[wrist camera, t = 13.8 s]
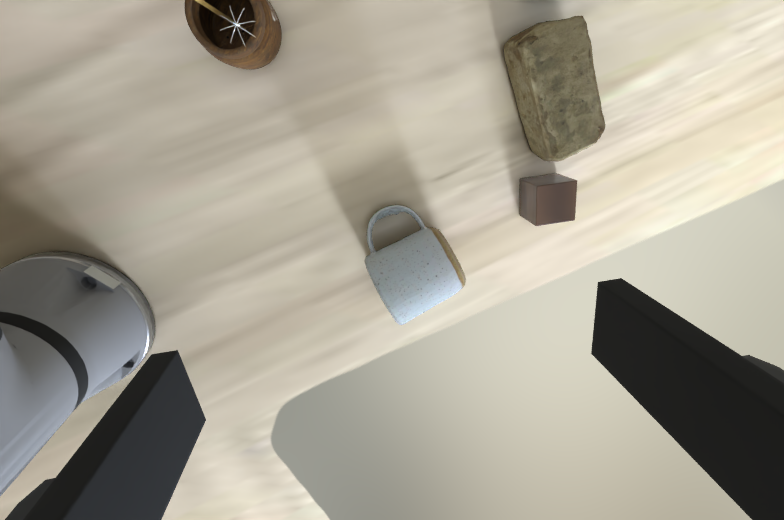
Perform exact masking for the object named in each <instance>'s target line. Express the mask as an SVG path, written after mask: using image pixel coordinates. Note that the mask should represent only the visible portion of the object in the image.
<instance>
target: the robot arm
mask: <svg viewBox="0 0 784 520" xmlns="http://www.w3.org/2000/svg"><path fill="white" fill-rule="evenodd" d="M154 335H155V323H154V317H153V313H152V311H151V308H150V306H149V304H148V302H147V300H146V298H145V297H144V295H143V294H142V293H141V291H140V290H139V289H138V288H137V287H136V285H135V284H134V283H133V282H132V281H131V280H129V279H128V278H127V277H126V276H125V275H123V274H122V273H121V272H119V271H118V270H116V269H115V268H113V267H111V266H109V265H107V264H105V263H103V262H101V261H99V260H96V259H94V258H91V257H88V256H84V255H80V254H76V253H69V252H44V253H38V254H34V255H30V256H27V257H25V258H22V259H20V260H18V261H16V262H14V263H12V264H10V265H8V266H6V267H4V268H2V269H1V270H0V496H1V495H2V494H3V493H4V492H5V490H6V489H7V488H8V487H9V486H10V485H11V483H12V482H13V481H14V480H15V479H16V478H17V476H18V475H19V474H20V473H21V472H22V470H23V469H24V468H25V467H26V466H27V465H28V463H29V462H30V461H31V460H32V459H33V458H34V456H35V455H36V454H37V453H38V452H39V451H40V449H41V448H42V447H43V446H44V445H45V444H46V442H47V441H48V440H49V439H50V438H51V437H52V435H53V434H54V433H55V432H56V431H57V430H58V428H59V427H60V426H61V425H62V424H63V423H64V421H65V420H66V419H67V418H68V417H69V416H70V414H71V413H72V412H73V411H74V410H75V409H76V408H77V407H78V405H79V404H80V403H81V402H83V401H85V400H86V399H88V398H90V397H92V396H93V395H95V394H97V393H99V392H100V391H102V390H104V389H106V388H107V387H109V386H111V385H113V384H114V383H116V382H118V381H120V380H121V379H123V378H124V377H126V376H127V375H128V374H130V373H131V372H132V371H133V370H134V369H135V368H136V367H137V366H138V365H139V364H140V362H141V361H142V360H143V359H144V357H145V356H146V355H147V353H148V352H149V350H150V348H151V346H152V343H153V340H154ZM592 355H593V356H594V357H595V358H596V359H597V360H598V361H599V362H600V363H601V364H602V365H603V366H604V367H605V368H606V369H607V370H608V371H609V372H610V373H611V374H612V375H613V376H614V377H615V378H616V379H617V381H618V382H619V383H620V384H621V385H622V386H623V387H624V388H625V389H626V390H627V391H628V392H629V393H630V394H631V395H632V396H633V397H634V398H635V399H636V400H637V401H638V402H639V403H640V404H641V405H642V406H643V407H644V408H645V409H646V410H647V411H648V412H649V414H650V415H651V416H652V417H653V418H654V419H655V420H656V421H657V422H658V423H659V424H660V425H661V426H662V427H663V428H664V429H665V430H666V431H667V432H668V433H669V434H670V435H671V436H672V437H673V438H674V439H675V440H676V441H677V442H678V443H679V445H680V446H681V447H682V448H683V449H684V450H685V451H686V452H687V453H688V454H689V455H690V456H691V457H692V458H693V459H694V460H695V461H696V462H697V463H698V464H699V465H700V466H701V467H702V468H703V469H704V470H705V471H706V472H707V473H708V474H709V475H710V477H711V478H712V479H713V480H714V481H715V482H716V483H717V484H718V485H719V486H720V487H721V488H722V489H723V490H724V491H725V492H726V493H727V494H728V495H729V496H730V497H731V498H732V499H733V500H734V501H735V502H736V503H737V504H738V505H739V506H740V508H742V510H743V511H744V512H745V513H746V514H747V515H748V516H749V517H750V518H751V519H752V520H784V370H782V369H781V368H779V367H777V366H775V365H772V364H770V363H767V362H765V361H762V360H760V359H757V358H755V357H752V356H750V355H746V356H741V355H739V354H738V353H736V352H735V351H733V350H731V349H730V348H728V347H727V346H725V345H724V344H722V343H721V342H719V341H718V340H716V339H715V338H713V337H711V336H710V335H708V334H706V333H705V332H704V331H702V330H700V329H699V328H697V327H696V326H694V325H693V324H691V323H690V322H688V321H687V320H685V319H683V318H682V317H680V316H679V315H677V314H676V313H674V312H673V311H671V310H670V309H668V308H666V307H665V306H663V305H662V304H660V303H658V302H657V301H656V300H654V299H652V298H651V297H649V296H648V295H646V294H645V293H643V292H641V291H640V290H638V289H637V288H635V287H634V286H632V285H631V284H629V283H628V282H626V281H625V280H623V279H621V278H620V279H614V280H608V281H602V282H598V288H597V299H596V310H595V320H594V331H593V342H592ZM205 421H206V419H205V416H204V414H203V411H202V409H201V406H200V404H199V402H198V399H197V397H196V394H195V392H194V389H193V387H192V384H191V382H190V379H189V377H188V375H187V372H186V370H185V367H184V365H183V362H182V360H181V357H180V355H179V352H178V350H176V351H170V352H164V353H158V354H152V355H151V356H150V357H149V359H148V360H147V361H146V362H145V364H144V365H143V366H142V368H141V369H140V370H139V371H138V373H137V374H136V375H135V377H134V378H133V379H132V380H131V382H130V383H129V384H128V386H127V387H126V388H125V389H124V391H123V392H122V393H121V395H120V396H119V397H118V398H117V400H116V401H115V402H114V404H113V405H112V406H111V407H110V409H109V410H108V411H107V413H106V414H105V415H104V416H103V418H102V419H101V420H100V422H99V423H98V424H97V425H96V427H95V428H94V429H93V431H92V432H91V433H90V434H89V436H88V437H87V438H86V440H85V441H84V442H83V443H82V445H81V446H80V447H79V449H78V450H77V451H76V452H75V454H74V455H73V456H72V458H71V459H70V460H69V461H68V463H67V464H66V465H65V467H64V468H63V469H62V470H61V472H60V473H59V474H58V476H57V477H56V478H53V479H48V480H45V481H44V482H43V483H42V484H40V485H39V486H38V487H37V488H36V489H35V490H33V491H32V492H31V493H30V494H29V495H28V496H26V497H25V498H24V499H23V500H22V501H21V502H19V503H18V504H17V506H16V507H15V508H14V509H13V510H12V512H11V513H10V514H9V515H8V517H7V518H6V519H5V520H161V519H162V517H163V515H164V512H165V510H166V508H167V506H168V503H169V501H170V499H171V497H172V494H173V492H174V490H175V488H176V485H177V483H178V481H179V479H180V477H181V474H182V472H183V470H184V468H185V465H186V463H187V461H188V459H189V456H190V454H191V452H192V450H193V447H194V445H195V443H196V441H197V439H198V436H199V434H200V432H201V430H202V427H203V425H204V423H205Z"/></svg>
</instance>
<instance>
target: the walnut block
mask: <svg viewBox="0 0 784 520" xmlns="http://www.w3.org/2000/svg"><path fill="white" fill-rule="evenodd" d="M576 192H577V180H574V179H571V178H568V177H565V176H563V175H560V174H557V173H556V174H549V175H542V176H535V177H528V178H522V179H520V216H522V217H523V218H525V219H526V220H528V221H529V222H531V223H532V224H534V225H535V226H540V225H546V224H553V223H559V222H566V221H573V220H575V207H576Z"/></svg>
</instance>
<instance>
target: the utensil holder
mask: <svg viewBox="0 0 784 520" xmlns="http://www.w3.org/2000/svg"><path fill="white" fill-rule="evenodd" d="M185 14H186V19H187V22H188V25H189V27H190V29H191V31H192V33H193V34H194V36H195V37H196V39H197V40H198V41H199V42H200V43H201V44H202V45H203V46H204V47H205V48H206V50H207V51H208V52H209V53H210V54H212V55H213V56H214V57H215V58H217V59H218V60H220V61H222V62H224V63H226V64H229V65H231V66H235V67H238V68H242V69H257V68H261V67H263V66H265V65H267V64H269V63H270V62H271V61H272V60H273V59H274V58H275V56H276V55H277V53H278V51H279V48H280V44H281V26H280V22H279V19H278V16H277V14H276V12H275V10H274V9H273V7H272V6H271V4H270V3H269V1H268V0H185Z"/></svg>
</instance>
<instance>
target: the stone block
mask: <svg viewBox="0 0 784 520" xmlns="http://www.w3.org/2000/svg"><path fill="white" fill-rule="evenodd" d="M503 50H504V57H505V62H506V65H507V67H508V73H509V77H510V80H511V84H512V87H513V90H514V93H515V97H516V103H517V107H518V110H519V113H520V118H521V121H522V123H523V126H524V131H525V134H526V137H527V140H528V143H529V146H530V148H531V150H532V152H533V153H534V154H536V155H537V156H538V157H540V158H541V159H543V160H545V161H548V162H551V161H556V162H558V161H561V160H564V159H566V158H568V157H569V156H572V155H575V154H577V153H579V152H580V151H582V150H584V149H586V148H588V147H590V146H591V145H593V144H595V143H596V142H597V140H598V139H599V138H600V137H601V135H602V133H603V131H604V129H605V121H604V117H603V114H602V110H601V101H600V97H599V92H598V87H597V82H596V76H595V70H594V66H593V56H592V46H591V41H590V38H589V35H588V30H587V24H586V22H585V20H584V18H583V16H574V17H571V18H568V19H562V20H558V21H546V22H544V23H538V24H536V25H534V26H532V27H530V28H528V29H526V30H524V31H522V32H520V33H519V34H517V35H515V36H513V37H511V38H510V39H509V40H508V41H507V42H506V44H505V45H504V49H503Z"/></svg>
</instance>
